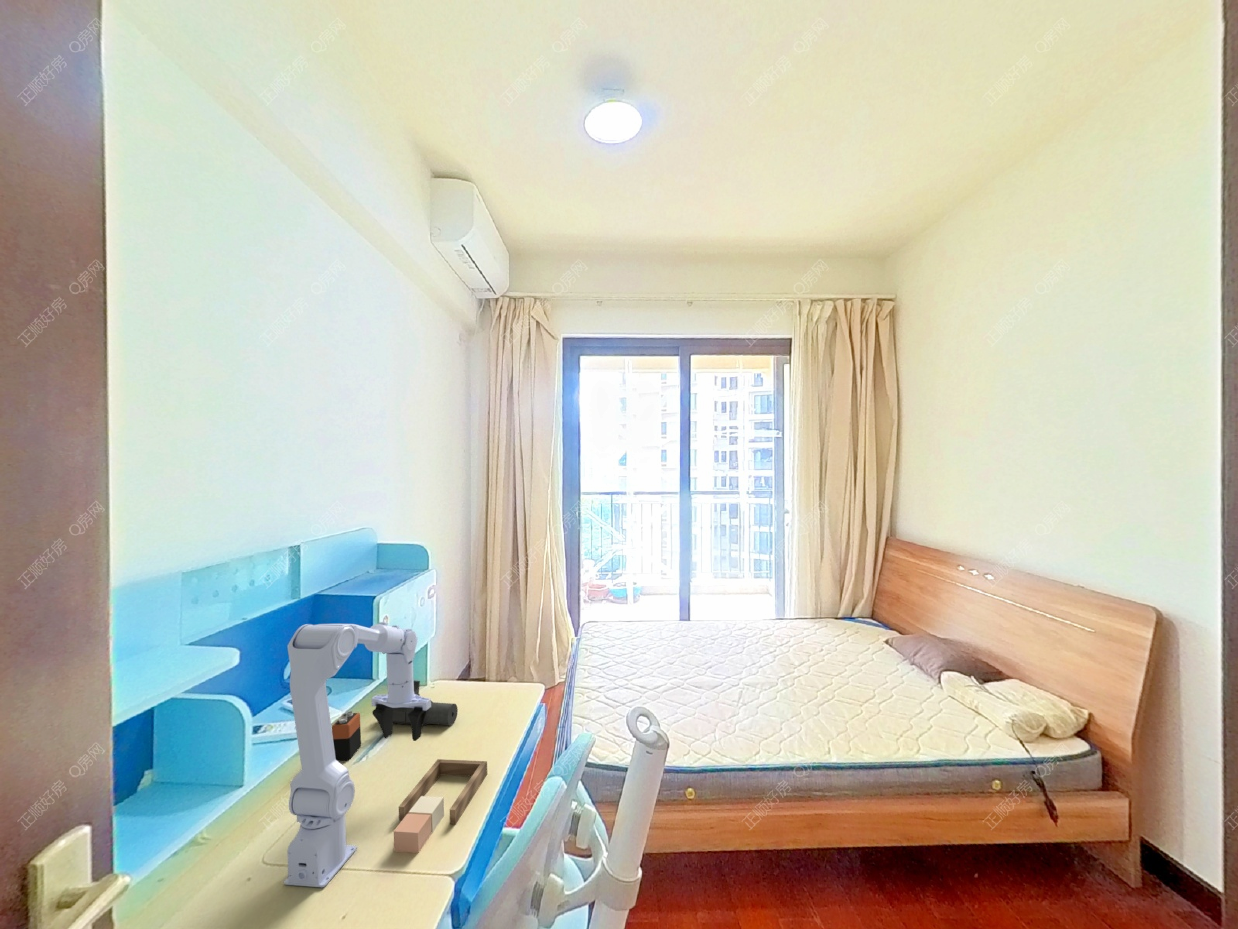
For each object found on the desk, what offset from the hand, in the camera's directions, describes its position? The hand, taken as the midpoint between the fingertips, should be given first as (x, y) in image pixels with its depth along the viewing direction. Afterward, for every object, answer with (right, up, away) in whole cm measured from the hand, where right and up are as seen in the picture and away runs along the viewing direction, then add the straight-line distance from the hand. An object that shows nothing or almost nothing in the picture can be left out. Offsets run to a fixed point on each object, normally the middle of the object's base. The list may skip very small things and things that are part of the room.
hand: (402, 737), depth 122 cm
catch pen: (+12, -10, -7) cm, 17 cm away
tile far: (+11, -10, -15) cm, 21 cm away
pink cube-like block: (+11, -10, -21) cm, 25 cm away
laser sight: (-7, -11, +28) cm, 30 cm away
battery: (-19, -11, +12) cm, 25 cm away
